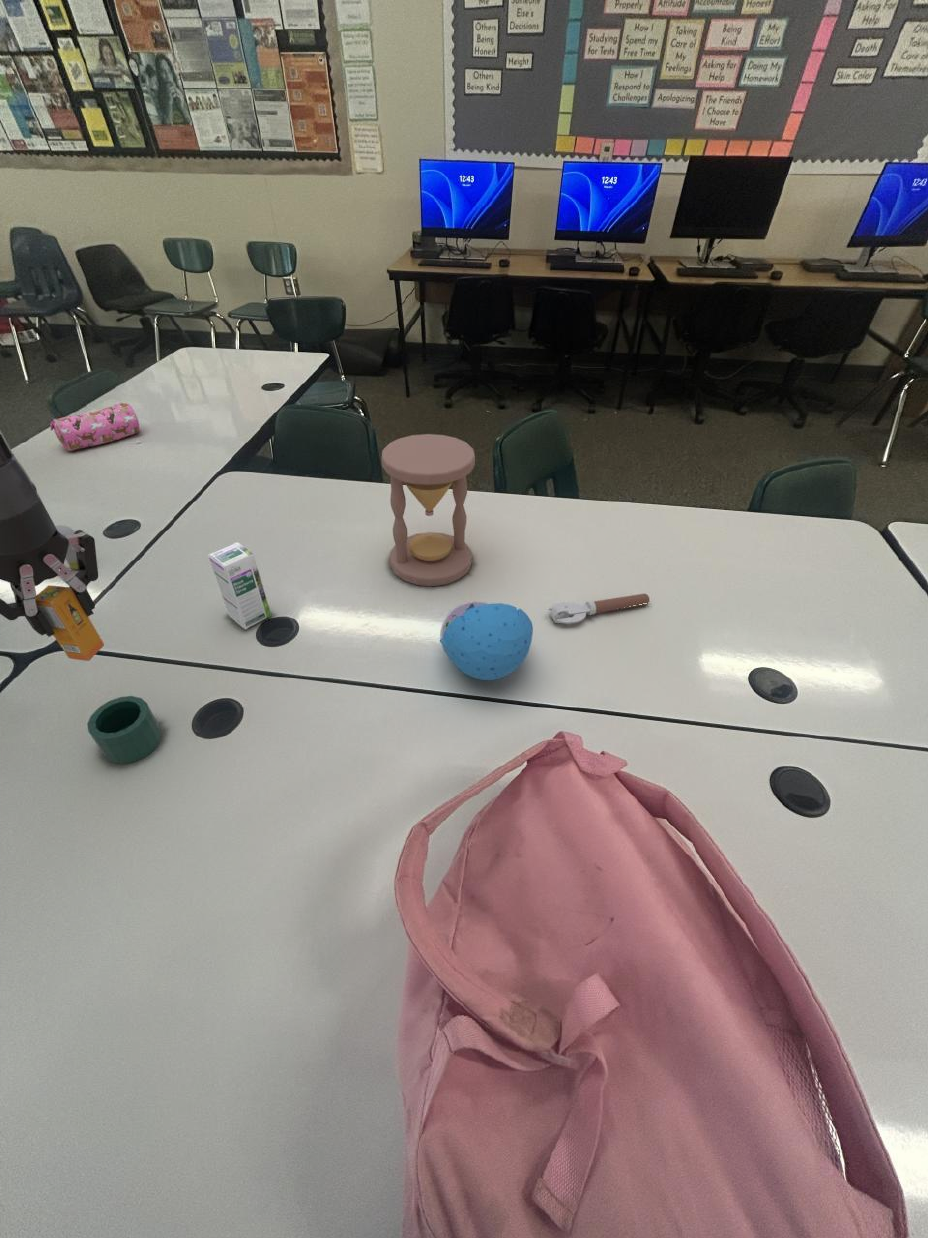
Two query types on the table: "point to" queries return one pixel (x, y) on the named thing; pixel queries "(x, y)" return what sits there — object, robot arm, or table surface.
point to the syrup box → (240, 584)
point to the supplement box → (69, 622)
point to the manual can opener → (593, 607)
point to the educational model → (486, 639)
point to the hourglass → (429, 506)
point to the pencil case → (96, 427)
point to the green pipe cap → (124, 729)
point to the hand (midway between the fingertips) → (67, 622)
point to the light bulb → (71, 553)
